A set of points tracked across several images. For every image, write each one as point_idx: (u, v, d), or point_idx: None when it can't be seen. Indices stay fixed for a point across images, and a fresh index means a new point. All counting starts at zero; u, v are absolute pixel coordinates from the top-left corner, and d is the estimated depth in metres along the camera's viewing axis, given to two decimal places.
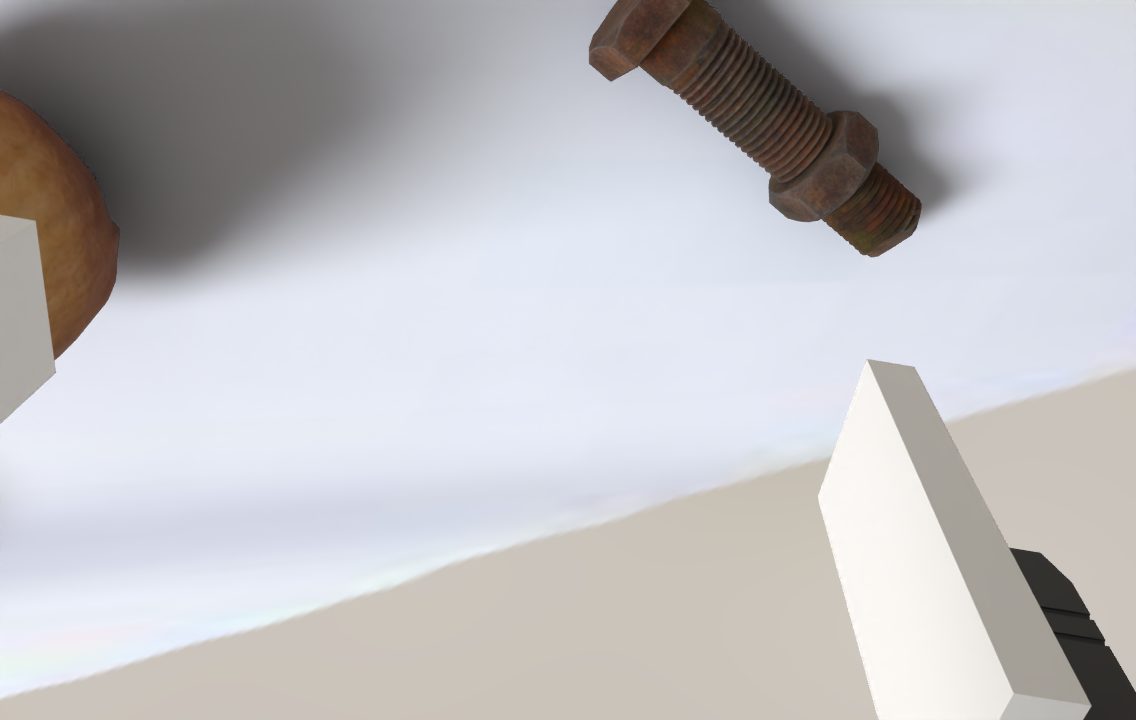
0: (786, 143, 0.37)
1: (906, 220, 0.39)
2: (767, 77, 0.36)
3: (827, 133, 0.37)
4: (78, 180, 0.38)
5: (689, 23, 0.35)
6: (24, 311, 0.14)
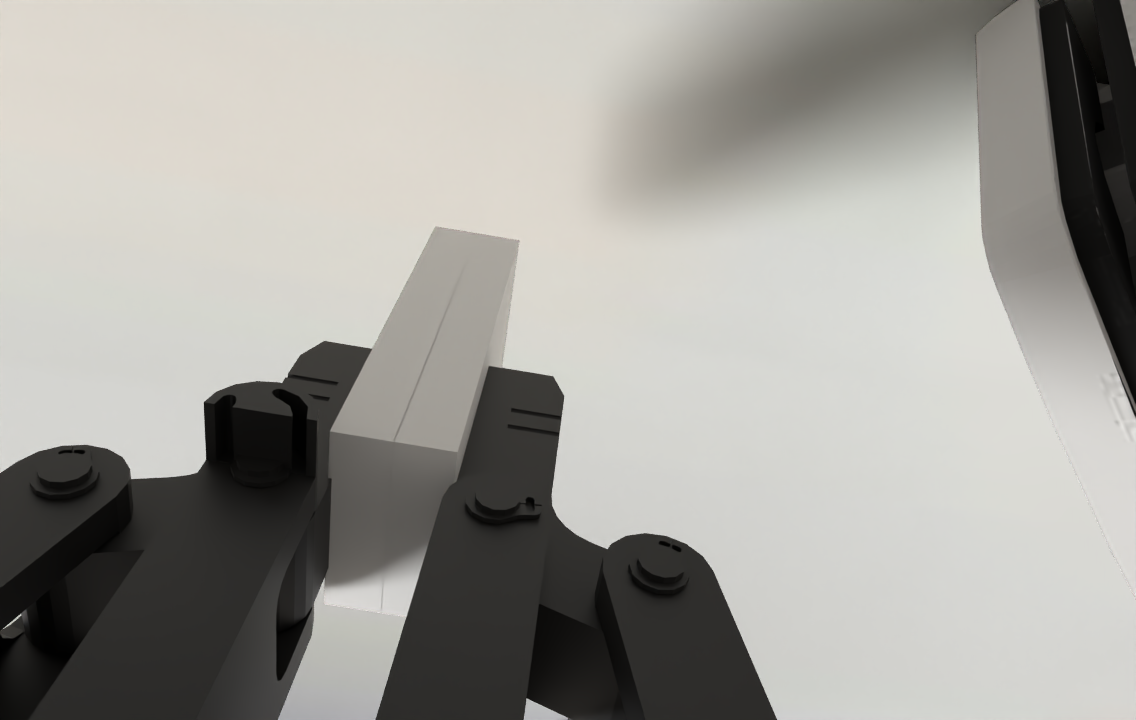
0: None
1: None
2: None
3: None
4: None
5: None
6: None
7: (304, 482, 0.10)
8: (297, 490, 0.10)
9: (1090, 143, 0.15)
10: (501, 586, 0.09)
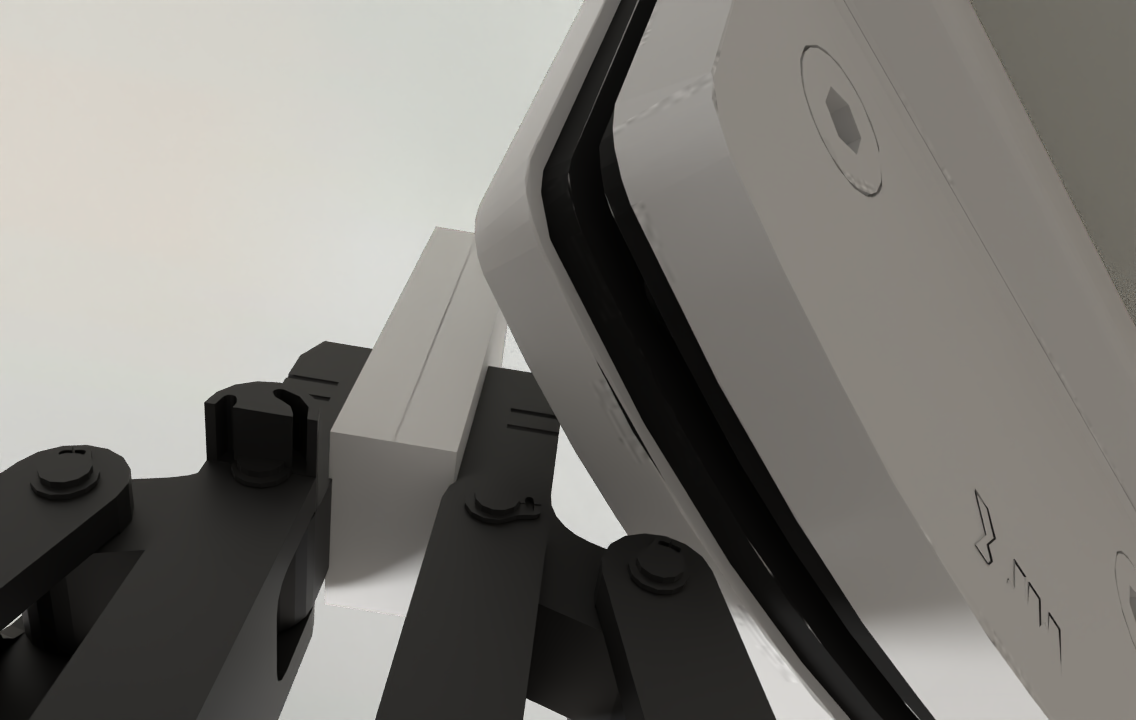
0: None
1: None
2: None
3: None
4: None
5: None
6: None
7: (304, 482, 0.10)
8: (297, 490, 0.10)
9: (616, 101, 0.12)
10: (500, 586, 0.09)
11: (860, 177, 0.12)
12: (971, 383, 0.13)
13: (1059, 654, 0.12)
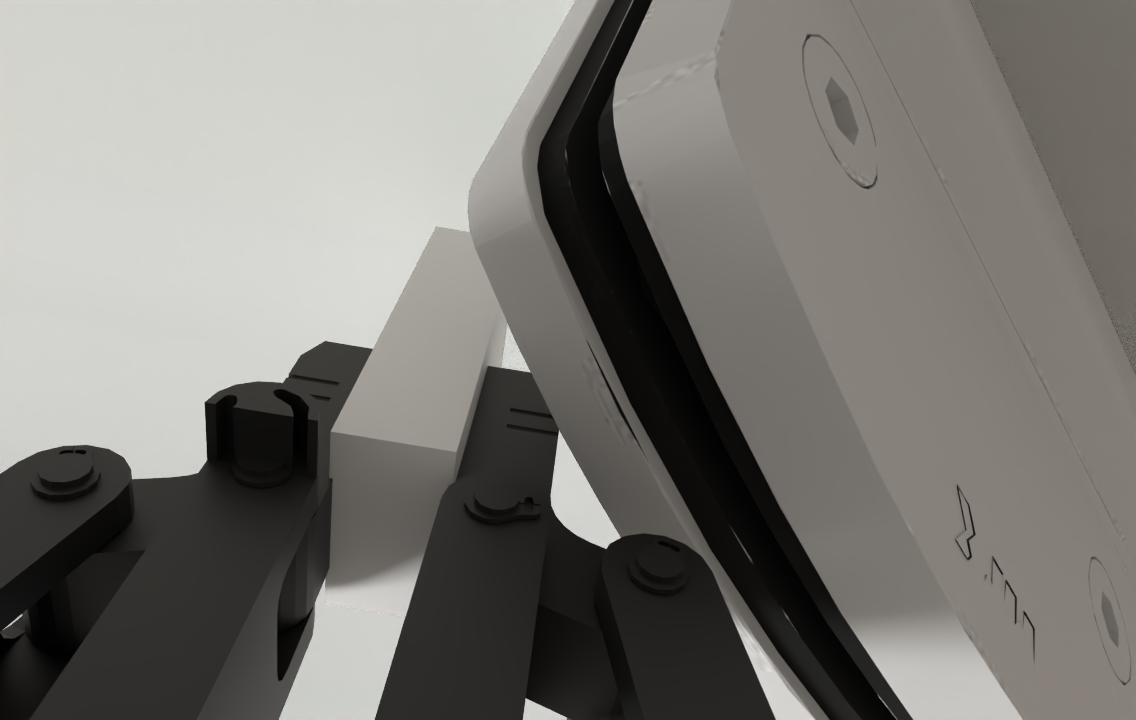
0: None
1: None
2: None
3: None
4: None
5: None
6: None
7: (305, 482, 0.10)
8: (298, 490, 0.10)
9: (615, 81, 0.12)
10: (500, 586, 0.09)
11: (856, 168, 0.12)
12: (957, 380, 0.13)
13: (1033, 653, 0.12)
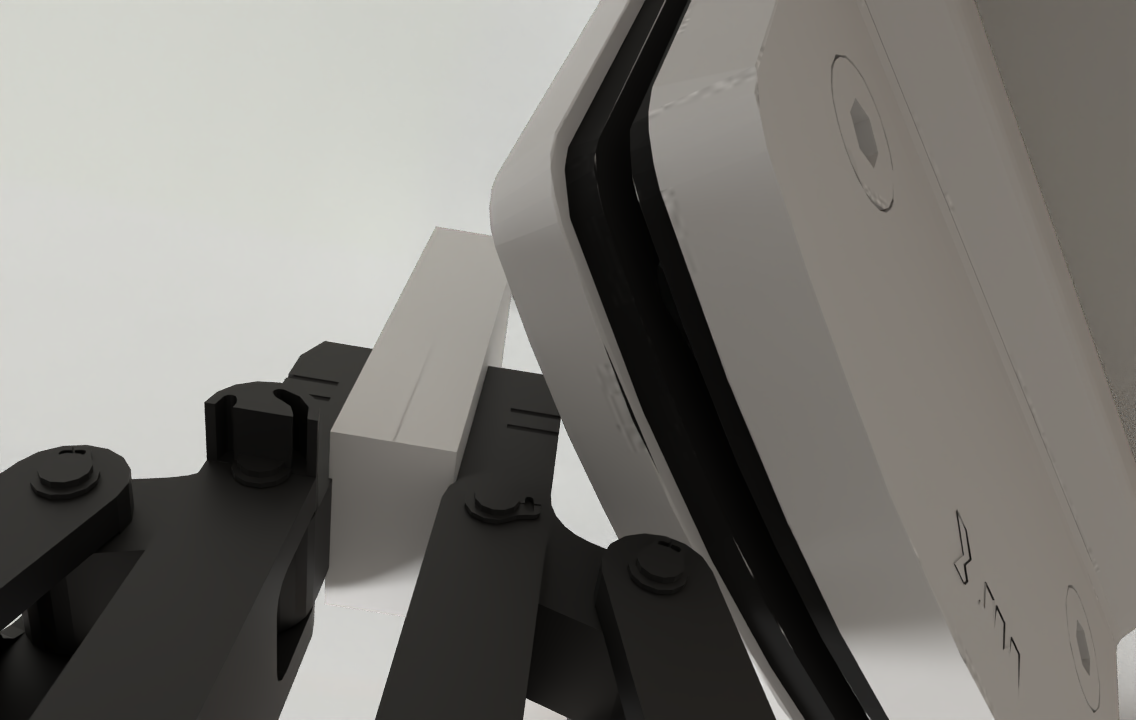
0: None
1: None
2: None
3: None
4: None
5: None
6: None
7: (304, 482, 0.10)
8: (297, 490, 0.10)
9: (643, 88, 0.12)
10: (500, 586, 0.09)
11: (875, 191, 0.12)
12: (958, 406, 0.13)
13: (1018, 679, 0.13)
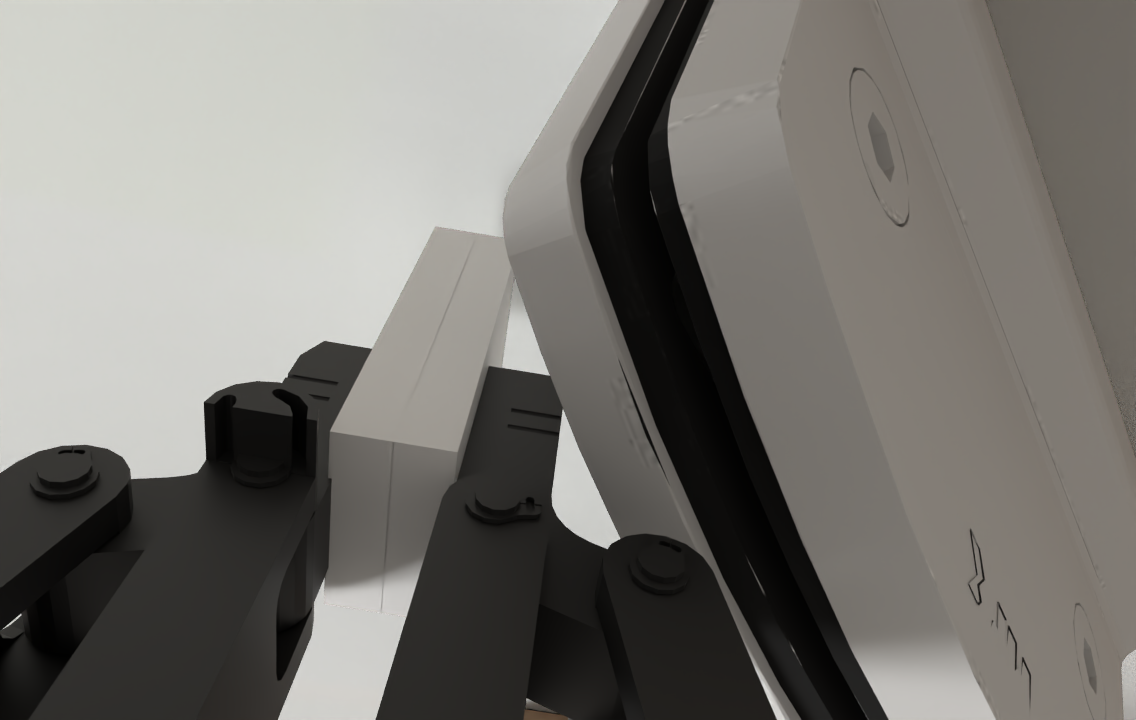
0: None
1: None
2: None
3: None
4: None
5: None
6: None
7: (304, 482, 0.10)
8: (297, 490, 0.10)
9: (659, 98, 0.12)
10: (501, 586, 0.09)
11: (892, 206, 0.12)
12: (971, 423, 0.13)
13: (1030, 701, 0.13)
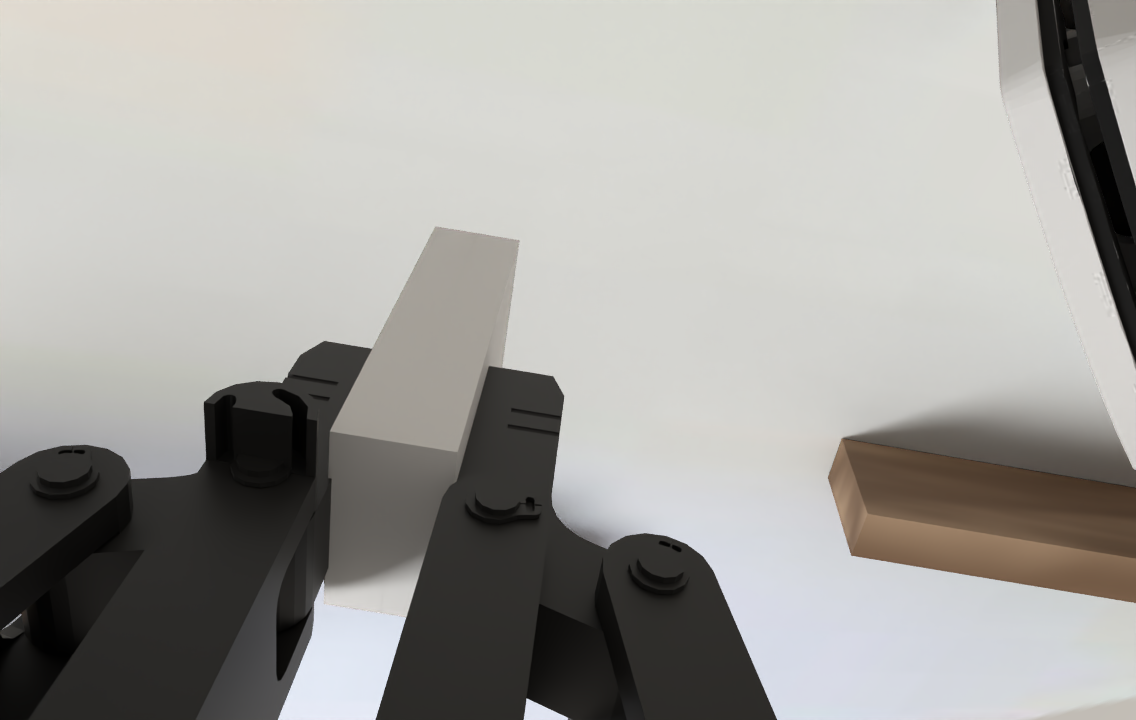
0: None
1: None
2: None
3: None
4: None
5: None
6: None
7: (304, 482, 0.10)
8: (297, 490, 0.10)
9: (1061, 43, 0.27)
10: (501, 586, 0.09)
11: None
12: None
13: None
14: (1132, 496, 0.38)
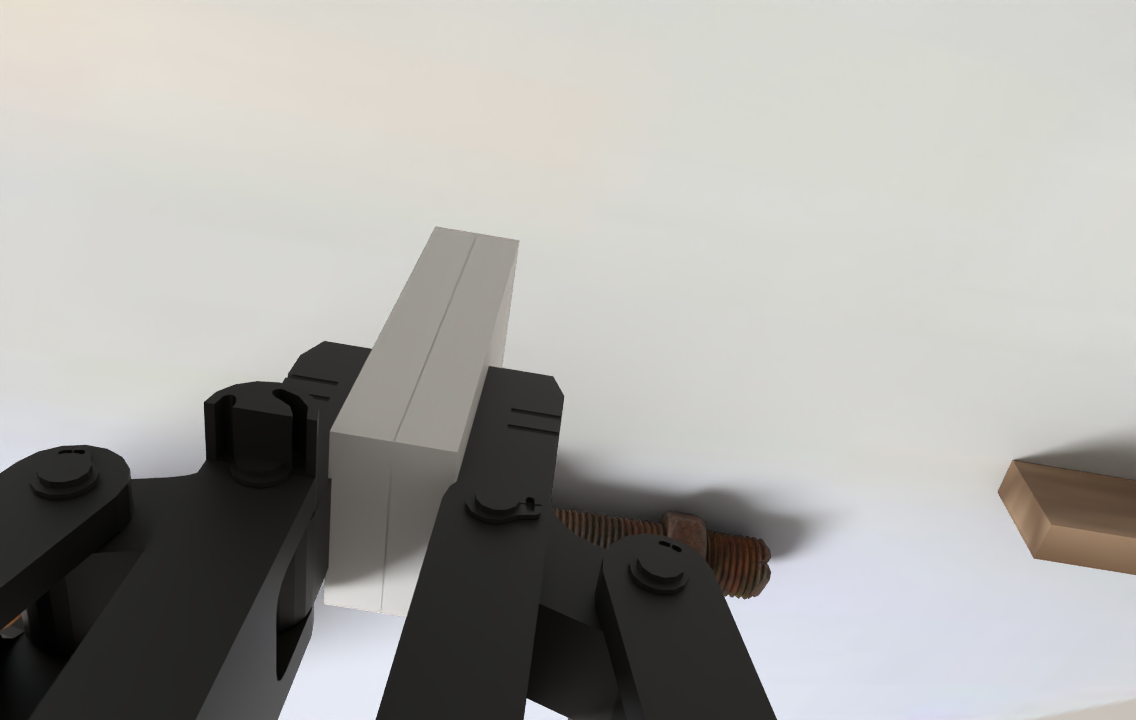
0: None
1: (757, 574, 0.47)
2: (594, 537, 0.47)
3: None
4: None
5: None
6: None
7: (304, 482, 0.10)
8: (297, 490, 0.10)
9: None
10: (501, 586, 0.09)
11: None
12: None
13: None
14: None
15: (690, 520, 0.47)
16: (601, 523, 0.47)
